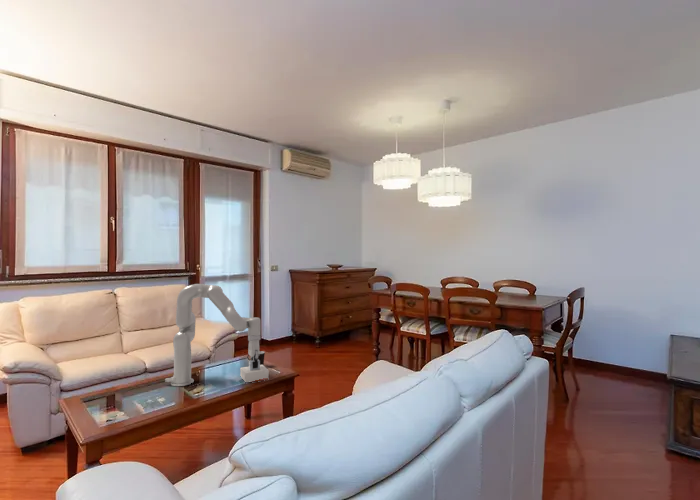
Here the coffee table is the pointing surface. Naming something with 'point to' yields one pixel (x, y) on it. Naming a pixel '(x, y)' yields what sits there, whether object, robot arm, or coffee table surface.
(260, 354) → the coffee mug
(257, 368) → the plug
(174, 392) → the coffee table surface
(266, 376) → the socket
